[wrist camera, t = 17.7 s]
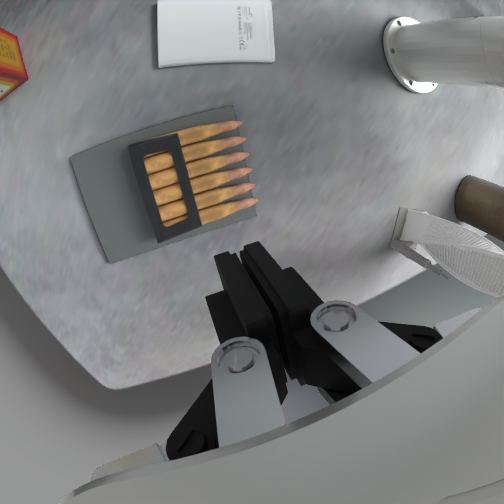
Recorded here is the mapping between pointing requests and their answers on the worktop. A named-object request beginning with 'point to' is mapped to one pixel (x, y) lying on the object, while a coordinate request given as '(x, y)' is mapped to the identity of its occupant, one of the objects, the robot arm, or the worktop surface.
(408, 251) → the skyscraper
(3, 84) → the baking soda box
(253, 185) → the ammunition clip
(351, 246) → the worktop surface
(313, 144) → the worktop surface
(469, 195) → the pillar candle
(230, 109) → the mat
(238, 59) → the external hard drive
